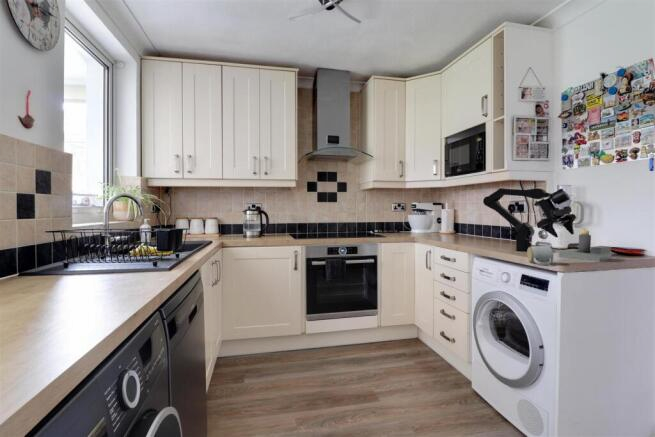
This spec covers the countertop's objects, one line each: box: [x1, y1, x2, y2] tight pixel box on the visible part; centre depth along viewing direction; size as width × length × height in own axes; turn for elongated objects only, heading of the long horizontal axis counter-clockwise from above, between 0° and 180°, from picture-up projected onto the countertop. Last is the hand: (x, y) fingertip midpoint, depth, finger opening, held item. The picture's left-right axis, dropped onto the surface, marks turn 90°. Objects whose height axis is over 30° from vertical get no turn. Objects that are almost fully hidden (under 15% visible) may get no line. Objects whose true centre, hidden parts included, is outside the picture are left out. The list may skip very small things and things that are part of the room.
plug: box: [578, 230, 592, 253], centre depth 149 cm, size 5×5×13 cm
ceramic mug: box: [526, 245, 554, 267], centre depth 134 cm, size 11×8×8 cm
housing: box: [558, 245, 612, 262], centre depth 149 cm, size 16×12×6 cm
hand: (565, 235), depth 157 cm, fingers open, 9 cm apart
